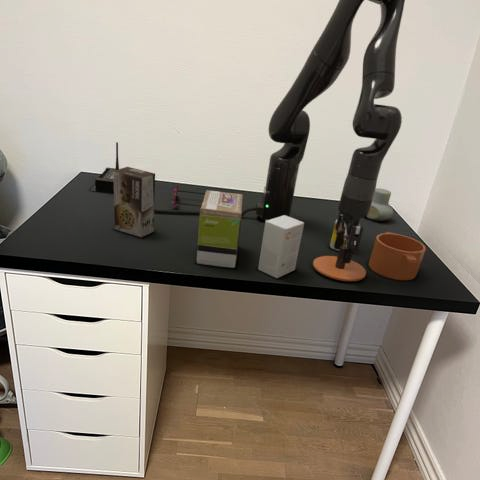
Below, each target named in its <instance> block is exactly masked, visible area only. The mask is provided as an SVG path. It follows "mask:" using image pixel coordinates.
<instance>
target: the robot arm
mask: <svg viewBox="0 0 480 480" xmlns="http://www.w3.org/2000/svg"><path fill="white" fill-rule="evenodd" d="M364 1H365V0H338V2H337V5H336V7H335V8H334V10H333V12H332V14H331V16H330V18H329V20H328V22H327V24H326V25H325V27H324V30H323V31H322V33H321V34H320V36H319V37H318V39H317V41H316V43H315V44H314V46H313V47H312V49H311V51H310V53H309V55H308V57H307V58H306V61H305V62H304V65H303V66H302V68H301V69H300V71H299V73H298V75H297V76H296V78H295V80H294V82H293V84H292V85H291V87H290V88H289V90H288V91H287V93H286V94H285V96H284V97H283V98H282V100H281V101H280V102H279V104H278V105H277V107H276V108H275V110H274V112H273V113H272V115H271V117H270V120H269V123H268V129H267V131H268V136H269V138H270V139H271V140H272V141H273V142H275V143H279V144H283V145H282V147H281V148H279V149H278V150H276V151H274V152H273V153H271V154H270V157H269V161H268V168H267V174H266V180H265V186H264V187H263V191H262V192H263V193H262V199H261V202H260V201H259V202H258V201H256V202H255V206H253V207H248V208H245V209H244V210H242V216H241V218H242V217H244V216H245V214H247V213H249V212H254V211H255V213H256V215H258V216H259V218H260V221H261V222H264V223H265V221H267V220H270V219H274V218H277V217H280V216H283V215H285V216H288V217H291V212H292V206H293V201H294V196H295V191H296V186H297V181H298V180H297V179H298V174H299V169H300V164H301V162H302V161H303V159H304V156H305V152H306V149H307V144H308V141H309V136H310V132H311V131H310V130H311V120H310V116H309V114H308V112H306V111H305V110H304V109H305V108H306V107H307V106H309V104H310V103H312V101H314V100H315V99H317V98H318V97H319V96H321V95H322V94H323V93H325V92H326V91H327V90H328V89H329V88H331V86H333V85H334V84H335V82H336V81H337V79H338V78H339V77H340V75H341V74H342V71H343V70H344V69H345V67H346V65H347V64H348V62H349V59H350V55H351V51H352V50H351V47H352V28H353V23H354V20H355V18H356V15H357V13H358V12H359V9H360V8H361V6H362V4H363V3H364ZM368 1H369V2H371V3H374V4H377V5H379V8H380V21H379V25H378V27H377V30H376V31H375V33H374V34H373V36H372V38H371V40H370V41H369V43H368V44H367V47H366V48H365V52H364V54H363V61H362V73H361V75H362V77H361V78H362V79H361V89H360V94H359V97H358V101H357V105H356V108H355V110H354V113H353V117H352V123H351V125H352V129H353V132H354V133H355V135H356V136H357V137H359V138H365V139H372V140H373V139H374V140H373V142H372V143H371V144H370V145H367V146H361V147H358V148H356V149H354V150H353V152H352V155H351V158H350V163H349V167H348V170H347V174H346V178H345V179H344V183H343V187H342V191H341V196H340V200H339V203H338V207H337V209H338V212H339V213H338V215H337V219H336V220H337V223H336V226H335V225H334V226H335V229H336V230H337V231H336V234H337V236H336V240H335V244H334V248H335V249H340V246H343V244H344V240H345V248H344V251H343V255H342V259H341V261H342V262H343V263H350V261H351V260H352V257H353V254H354V251H359V248H360V243H361V240H362V237H363V236H362V235H363V231H364V226H361V223H360V221H361V219H362V218H367V217H366V216H368V214H369V211H370V207H371V204H372V200H373V196H374V193H375V189H376V188H377V183H378V178H379V175H380V171H381V169H382V165H383V161H384V159H385V157H386V156H387V154H388V151H389V150H390V148H391V146H392V145H393V143H394V141H395V139H396V138H397V136H398V134H399V132H400V130H401V127H402V123H403V116H402V113H401V111H400V109H399V108H398V107H396V106H394V105H393V106H392V105H386V104H375V100H377V99H383V98H386V97H388V96H390V95H392V94H393V91H394V89H395V82H396V59H397V46H398V39H399V34H400V28H401V23H402V19H403V13H404V8H405V2H406V0H368ZM154 213H159V214H177V215H178V214H179V215H200V210H176V209H161V208H154ZM348 240H349V241H348Z"/></svg>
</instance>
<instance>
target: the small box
mask: <svg viewBox="0 0 480 480" xmlns="http://www.w3.org/2000/svg"><path fill="white" fill-rule="evenodd" d="M304 226H305V222H304V221H301V220H299V219H297V218H294V217H291V216H290V217H288V216H285V215H283V216H280V217H277V218H274V219H270V220H267V221H265V222H264V227H263V233H262V235H263V236H262V240H261V241H262V242H261V248H260V252H259V253H260V254H259V260H258V267H257V269H258V271H260V272H262V273H265V274H267V275H269V276H271V277H273V278H275V279H279V278H281V277H283V276H285V275H287V274H290V273H291V272H293V271H295V270H296V266H297V261H298V257H299V256H298V255H299V252H300V251H299V250H300V246H301V241H302V236H303V231H304Z"/></svg>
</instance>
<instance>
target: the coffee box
mask: <svg viewBox="0 0 480 480" xmlns="http://www.w3.org/2000/svg"><path fill="white" fill-rule="evenodd" d="M113 176H114V194H113V206H114V207H113V208H114V230H115V231H118V232H123V233H126V234H129V235H132V236H135V237H139V238H143V237H145V236H147V235H149V234H152V233H154V231H155V212H154V209H155V196H156V194H155V193H156V173H154V172H150V171H147V170H142V169H139V168H134V167H131V166H124V167H121V168H119V170H116V171H113Z"/></svg>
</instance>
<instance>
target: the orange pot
mask: <svg viewBox="0 0 480 480" xmlns="http://www.w3.org/2000/svg"><path fill="white" fill-rule="evenodd" d="M426 248H427V247H426V245H424V243H423V242H421V241H419V240H418V239H416V238H413V237H410V236H407V235H403V234H399V233H394V232H390V231H385V232H384V233H379V234H377V235H376V237H375V240H374V244H373V247H372V250H371V254H370V258H369V261H368V267H369V268H370V269H371V270H372V271H373V273H374V272H375V273H376V274H378V275H380V276H382V277H385V278H388V279H392V280H395V281H411V280H413V279H415V278H416V277H417V275H418V272H419V270H420V267H421V264H422V261H423V258H424V255H425V253H426Z"/></svg>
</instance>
